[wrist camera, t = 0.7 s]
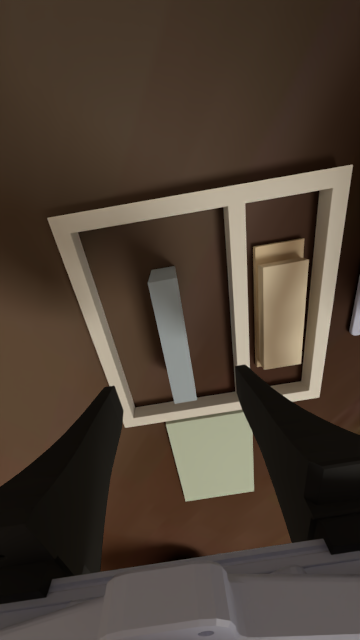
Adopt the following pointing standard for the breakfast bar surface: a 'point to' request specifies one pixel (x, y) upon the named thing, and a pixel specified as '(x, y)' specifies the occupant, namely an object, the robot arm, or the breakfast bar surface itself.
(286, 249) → the offcut lower
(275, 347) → the offcut upper
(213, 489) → the mat
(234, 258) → the rack
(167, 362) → the grey rectangular block
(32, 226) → the breakfast bar surface
